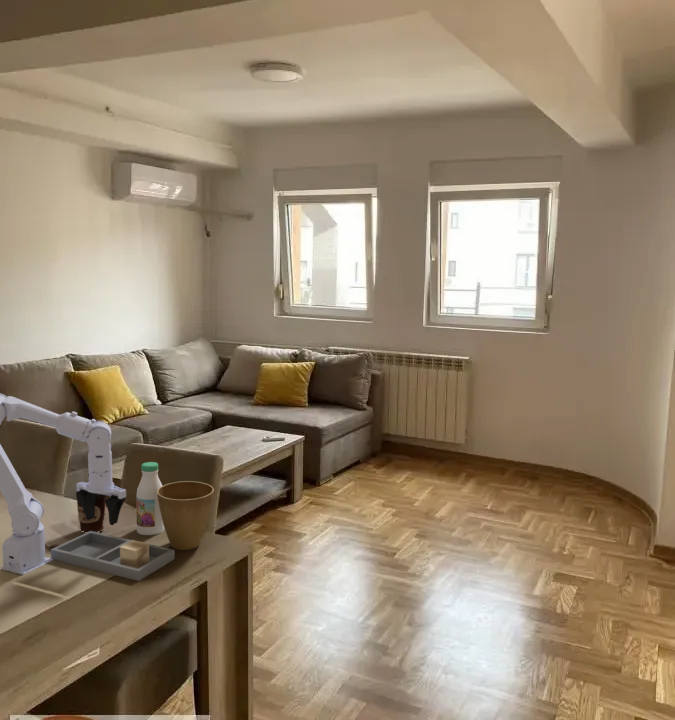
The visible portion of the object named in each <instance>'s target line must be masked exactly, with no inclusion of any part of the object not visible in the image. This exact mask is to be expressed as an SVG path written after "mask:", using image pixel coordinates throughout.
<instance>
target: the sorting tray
mask: <svg viewBox="0 0 675 720" xmlns="http://www.w3.org/2000/svg"><path fill="white" fill-rule="evenodd" d="M133 540H134V539H128V538H123V537H120V536H119V537H118V536H114V535H110V534H106V533H105V534H104V533H102V532H99V533H97V532H93V531H89V532H87V533H82V534H81V535H79V536H76V537H75V538H73V539H70V540H68V541H65V542H64V543H62V544H60V545H57V546H55V547H53V548H51V549H50V558H51V559H53V560H52V561H58V562H62V563H65V564H69V565H73V566H78V567H82V568H84V569H89V570H94V571H97V572H102V573H105V574H109V575H112V576H117V577H122V578H125V579H129V580H133V581H136V582H140V581H142V580H143V579H145V578H146V577H148V576H149V575H151V574H154V572H156V571H158V570H159V569H161V568H162V567H165V566H166V565H168V564H169V563H171V562H172V561H174V560H175V555H176V554H175V551H176V549H174V548H168V547H164V546H163V547H162V546H159V545H155V544H150V543H148V544H149V562H148V563H147V564H145V565H143V566H142V567H140V568H138V569H137V568H133V567H129V566H125V565H121V564H120V547H121V546H123V545H125V544H127V543H129V542H131V541H133Z"/></svg>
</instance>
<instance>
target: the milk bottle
mask: <svg viewBox="0 0 675 720" xmlns="http://www.w3.org/2000/svg"><path fill="white" fill-rule="evenodd" d="M140 468H141V469H140V470H141V473H142V476H141V479H140V482H139V484H138V486H137V488H136V489H137V490H136V498H135V499H136V502H135V503H136V505H135V506H136V509H135V510H136V514H135V515H136V532H137V534H139V535H142V536H155V535H158V534H161V533H164V531H165V528H164V524H163V521H162V517H161V512H160V508H159V502H158V496H157V490H158V489H159V488H160V487H162V486H163V484H162V482H161V480H160V478H159V474H158V472H159V463H158V462H156V461H155V462H154V461H148V462H144V463H142V464H141V466H140Z"/></svg>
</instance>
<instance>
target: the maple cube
mask: <svg viewBox="0 0 675 720" xmlns="http://www.w3.org/2000/svg"><path fill="white" fill-rule="evenodd" d="M132 540H133V541H131V542H129V543H127V544H125V545H123V546H121V547H120V564H121V565H125V566H129V567H133V568H137V569H138V568H140V567H142V566H143V565H145V564H147V563H148V562H149V544H150V543H147V542H144V541H139V540H135V539H132Z"/></svg>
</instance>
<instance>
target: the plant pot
mask: <svg viewBox="0 0 675 720" xmlns="http://www.w3.org/2000/svg"><path fill="white" fill-rule="evenodd" d="M214 490H215V489H214V487H213V486H212V485H210V484H208V483H205V482H203V481H202V482H200V481H192V480H191V481H190V480H187V481H186V480H184V481H175V482H171V483H166V484H164V485H162V487H160V488H159V489H158V490H157V496H158V502H159V508H160V512H161V517H162V521H163V524H164V528H165V529H164V531H165V533H166V536H167V539H168V542H169V543H170V546H171V549H173V550H177V551H187V550H188V551H189V550H193V549H196V548H198V547H199V546H200V545H201V542H202V540H203V537H204V535H205V531H206V528H207V524H208V522H209V517H210V513H211V509H212V503H213V498H214V492H215V491H214Z"/></svg>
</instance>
